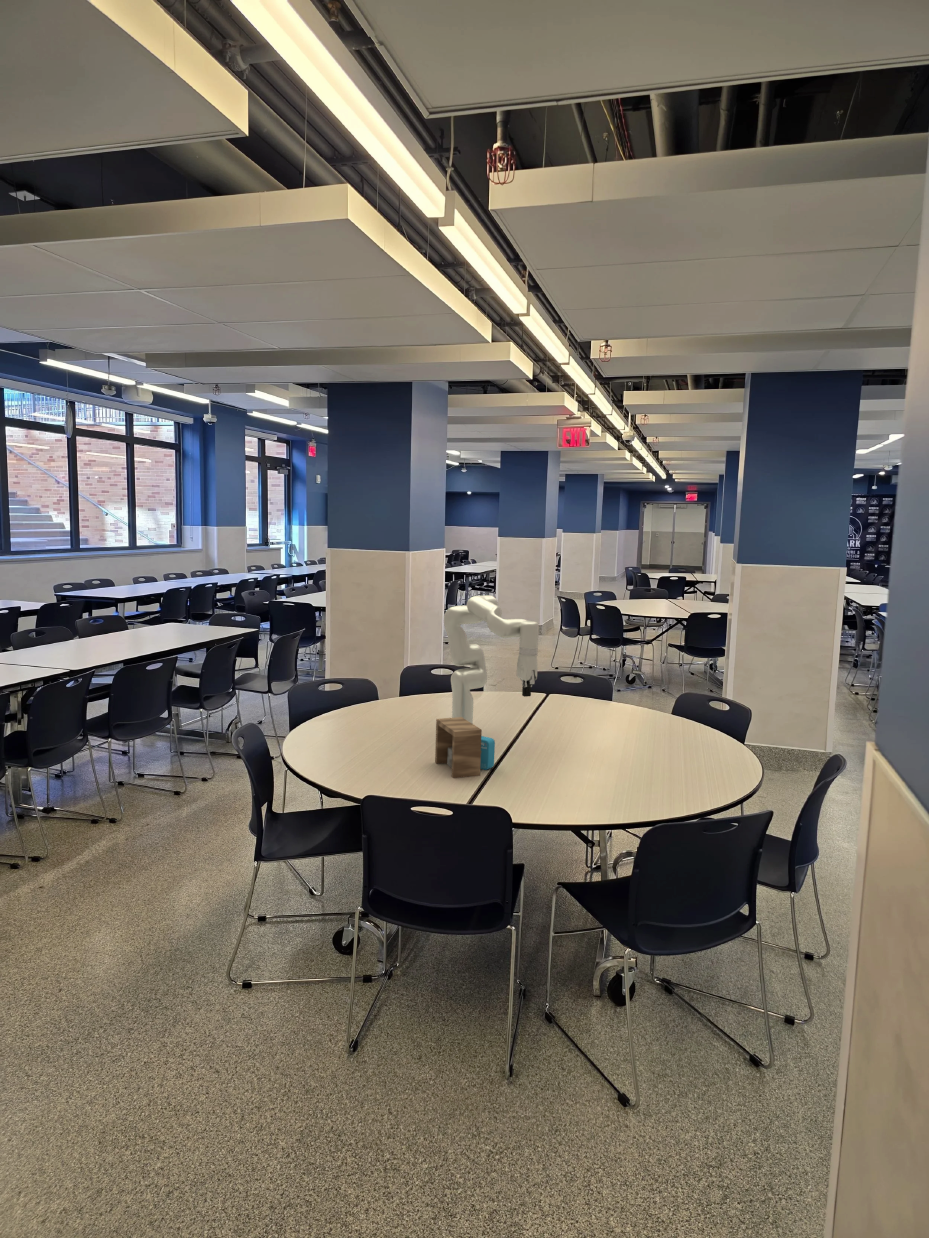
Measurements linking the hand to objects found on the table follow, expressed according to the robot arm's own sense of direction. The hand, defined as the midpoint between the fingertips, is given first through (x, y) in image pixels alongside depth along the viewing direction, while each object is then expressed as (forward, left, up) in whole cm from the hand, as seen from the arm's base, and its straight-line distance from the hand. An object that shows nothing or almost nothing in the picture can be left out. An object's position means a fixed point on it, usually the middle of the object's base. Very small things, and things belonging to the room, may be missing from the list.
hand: (526, 695), depth 300 cm
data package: (+2, -21, -27) cm, 35 cm away
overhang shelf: (+2, -30, -27) cm, 40 cm away
